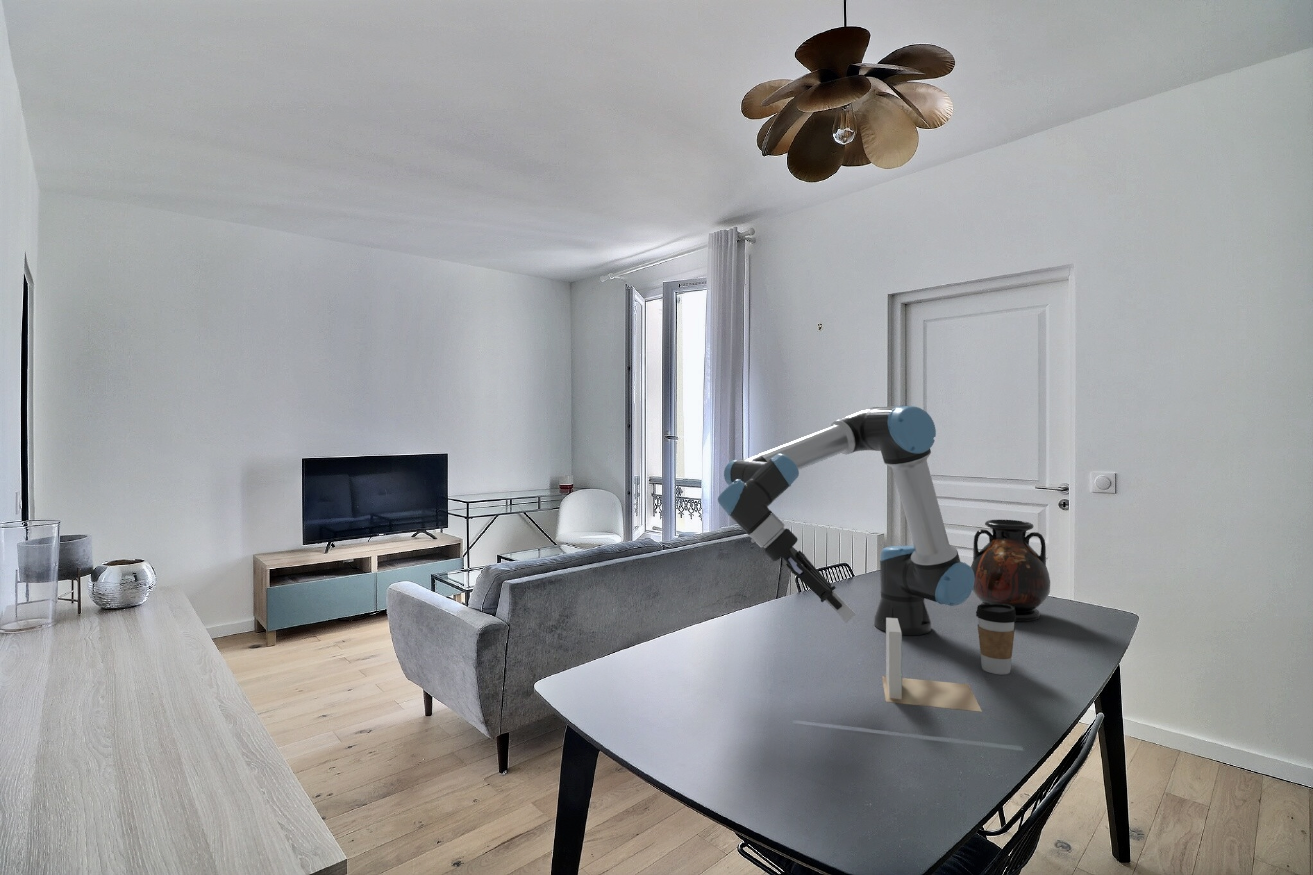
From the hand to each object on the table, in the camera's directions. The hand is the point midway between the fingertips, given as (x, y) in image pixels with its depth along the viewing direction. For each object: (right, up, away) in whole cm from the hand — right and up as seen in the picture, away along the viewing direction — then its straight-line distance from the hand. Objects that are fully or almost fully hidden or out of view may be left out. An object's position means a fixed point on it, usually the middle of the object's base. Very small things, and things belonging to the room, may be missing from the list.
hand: (851, 617), depth 141 cm
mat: (+15, -16, -4) cm, 22 cm away
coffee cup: (+37, -15, +10) cm, 41 cm away
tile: (+9, -15, -2) cm, 17 cm away
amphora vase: (+64, -14, +54) cm, 84 cm away
